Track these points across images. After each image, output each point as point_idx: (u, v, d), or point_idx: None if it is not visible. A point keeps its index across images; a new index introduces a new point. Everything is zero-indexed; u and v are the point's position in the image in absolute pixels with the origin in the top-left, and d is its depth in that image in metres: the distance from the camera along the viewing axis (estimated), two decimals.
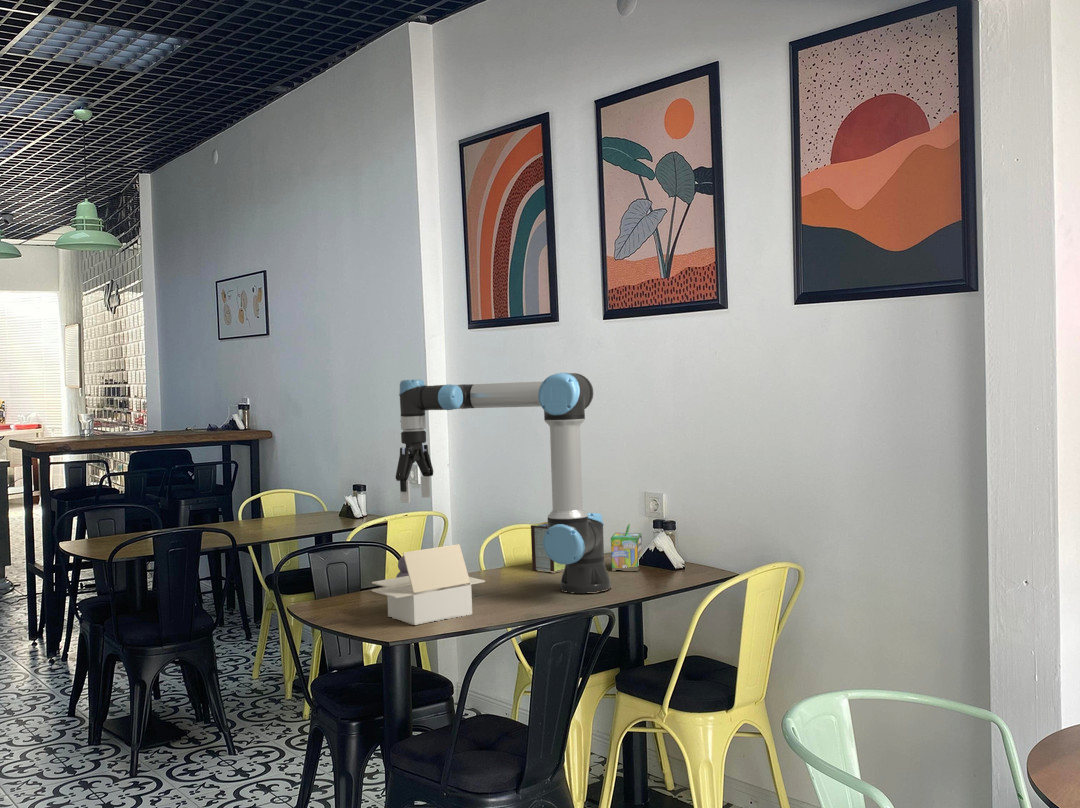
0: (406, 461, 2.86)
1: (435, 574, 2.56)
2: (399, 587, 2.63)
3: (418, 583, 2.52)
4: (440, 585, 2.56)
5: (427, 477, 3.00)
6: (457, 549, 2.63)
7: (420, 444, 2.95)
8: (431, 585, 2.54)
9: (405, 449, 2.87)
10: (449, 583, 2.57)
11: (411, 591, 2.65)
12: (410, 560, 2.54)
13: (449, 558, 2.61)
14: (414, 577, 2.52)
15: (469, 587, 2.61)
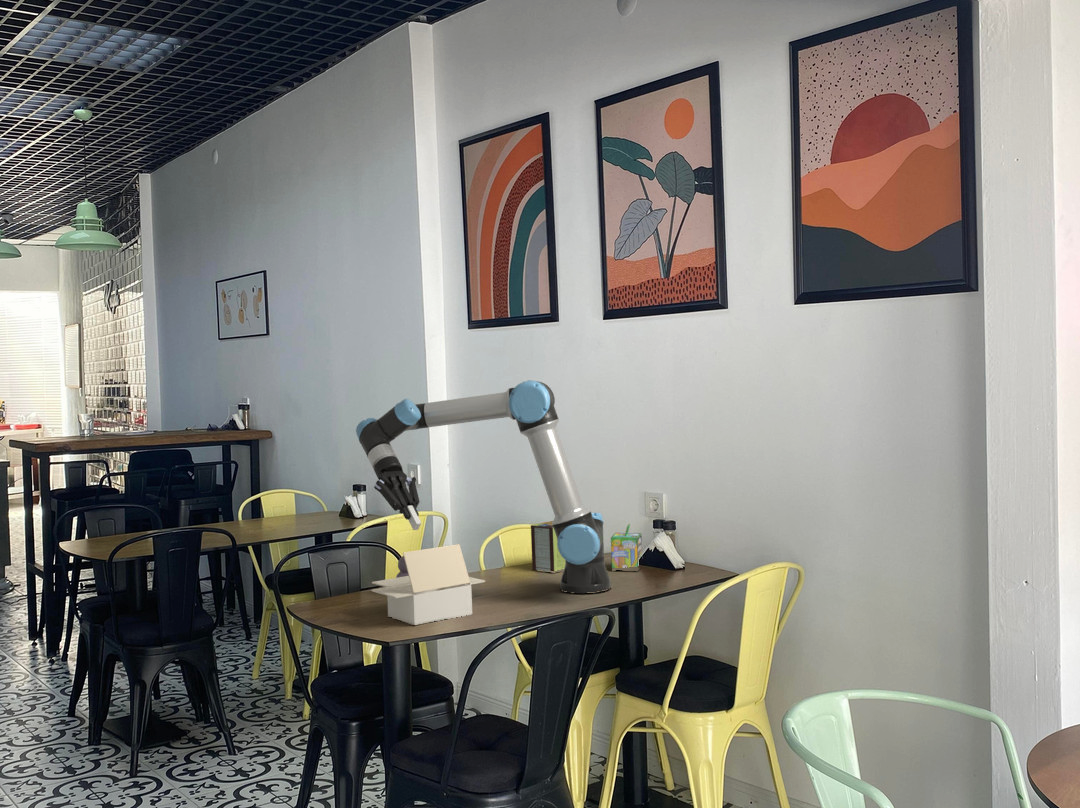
0: (387, 490, 2.68)
1: (435, 574, 2.56)
2: (399, 587, 2.63)
3: (418, 583, 2.52)
4: (440, 585, 2.56)
5: None
6: (457, 549, 2.63)
7: (402, 471, 2.77)
8: (431, 585, 2.54)
9: (377, 484, 2.69)
10: (449, 583, 2.57)
11: (411, 591, 2.65)
12: (410, 560, 2.54)
13: (449, 558, 2.61)
14: (414, 577, 2.52)
15: (469, 587, 2.61)
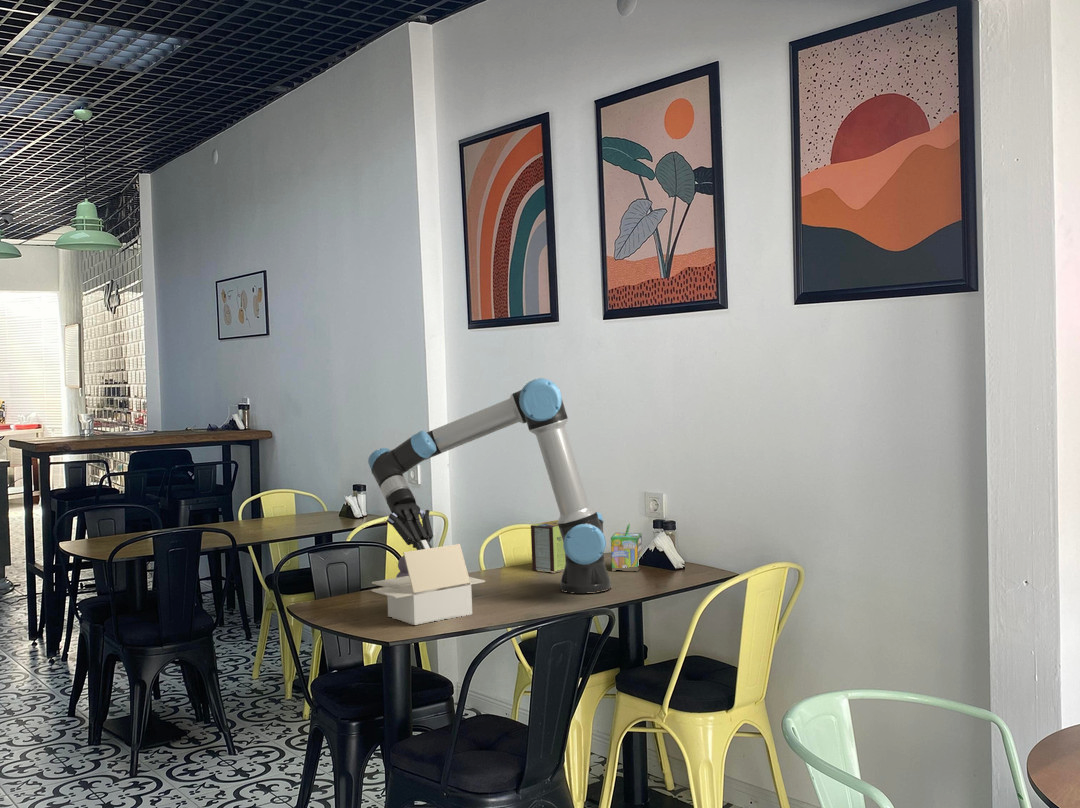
0: (400, 524, 2.62)
1: (435, 574, 2.56)
2: (399, 587, 2.63)
3: (418, 583, 2.52)
4: (440, 585, 2.56)
5: None
6: (457, 549, 2.63)
7: (415, 503, 2.71)
8: (431, 585, 2.54)
9: (390, 517, 2.63)
10: (449, 583, 2.57)
11: (411, 591, 2.65)
12: (410, 559, 2.54)
13: (449, 558, 2.61)
14: (414, 576, 2.52)
15: (469, 587, 2.61)
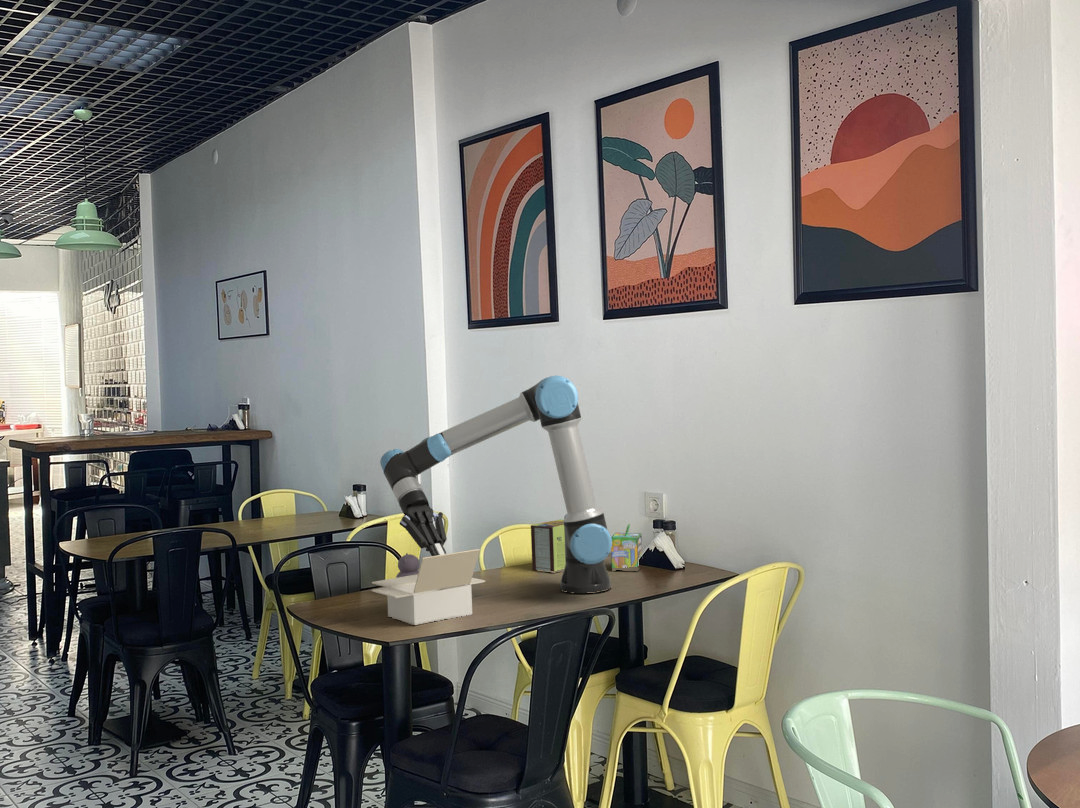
0: (413, 527, 2.57)
1: (442, 577, 2.53)
2: (399, 587, 2.63)
3: (422, 585, 2.51)
4: (441, 586, 2.55)
5: None
6: (475, 554, 2.57)
7: (428, 505, 2.65)
8: (433, 586, 2.53)
9: (402, 520, 2.58)
10: (451, 584, 2.57)
11: (411, 591, 2.65)
12: (425, 565, 2.48)
13: (463, 562, 2.56)
14: (421, 580, 2.49)
15: (469, 587, 2.61)
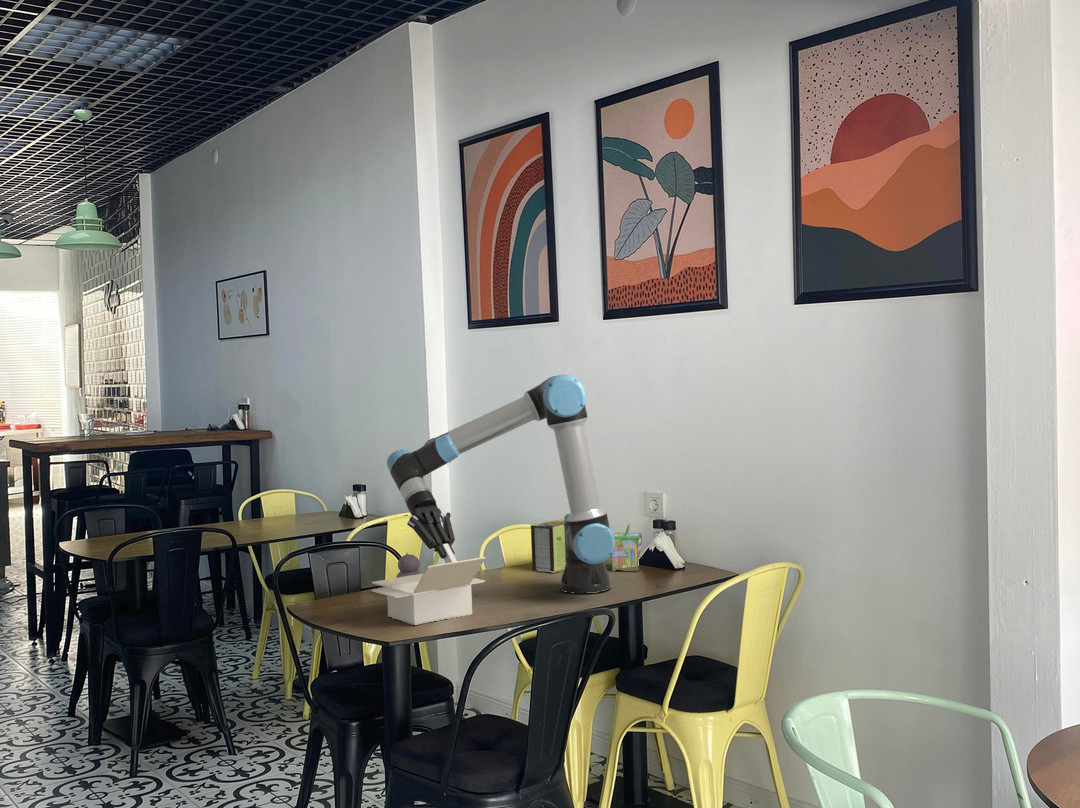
0: (421, 527, 2.54)
1: (444, 580, 2.53)
2: (399, 587, 2.63)
3: (423, 587, 2.50)
4: (441, 587, 2.55)
5: None
6: (480, 561, 2.55)
7: (436, 505, 2.63)
8: (434, 587, 2.53)
9: (410, 520, 2.55)
10: (451, 585, 2.57)
11: (411, 591, 2.65)
12: (430, 572, 2.46)
13: (467, 568, 2.54)
14: (423, 583, 2.49)
15: (469, 587, 2.61)
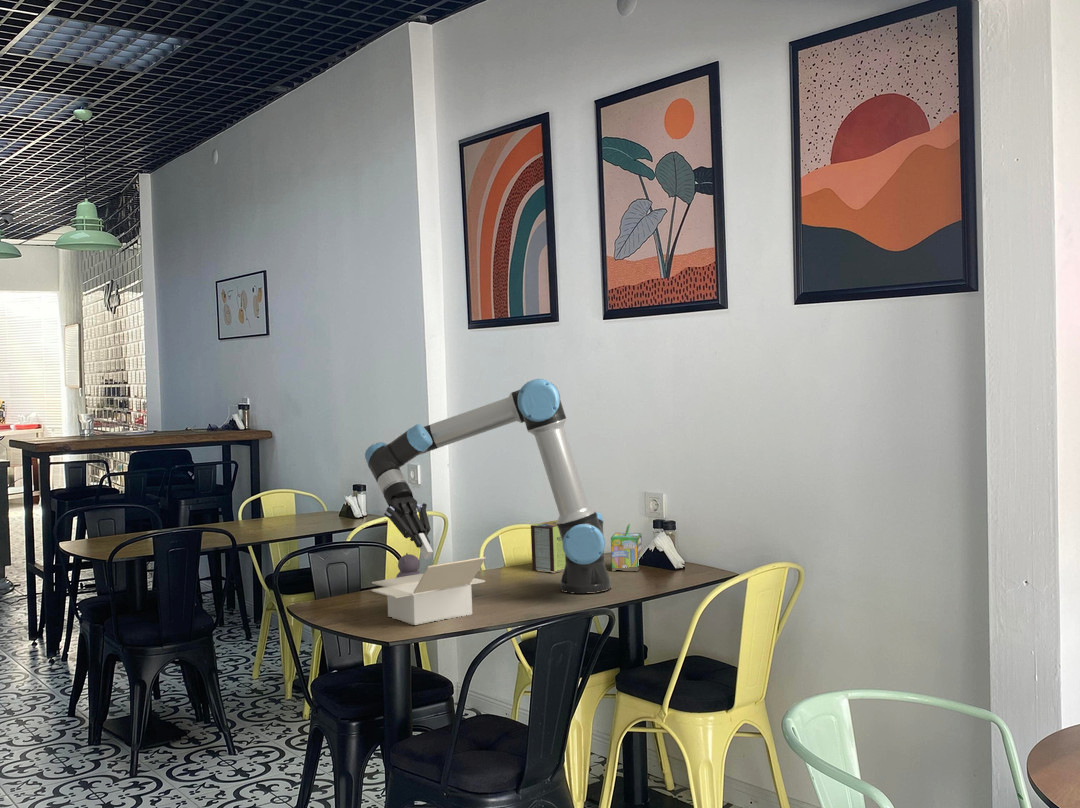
0: (398, 518, 2.63)
1: (444, 580, 2.53)
2: (399, 587, 2.63)
3: (423, 587, 2.50)
4: (441, 587, 2.55)
5: None
6: (480, 562, 2.55)
7: (412, 497, 2.72)
8: (434, 587, 2.53)
9: (387, 511, 2.64)
10: (451, 585, 2.57)
11: (411, 591, 2.65)
12: (430, 572, 2.46)
13: (467, 568, 2.54)
14: (423, 583, 2.49)
15: (469, 587, 2.61)
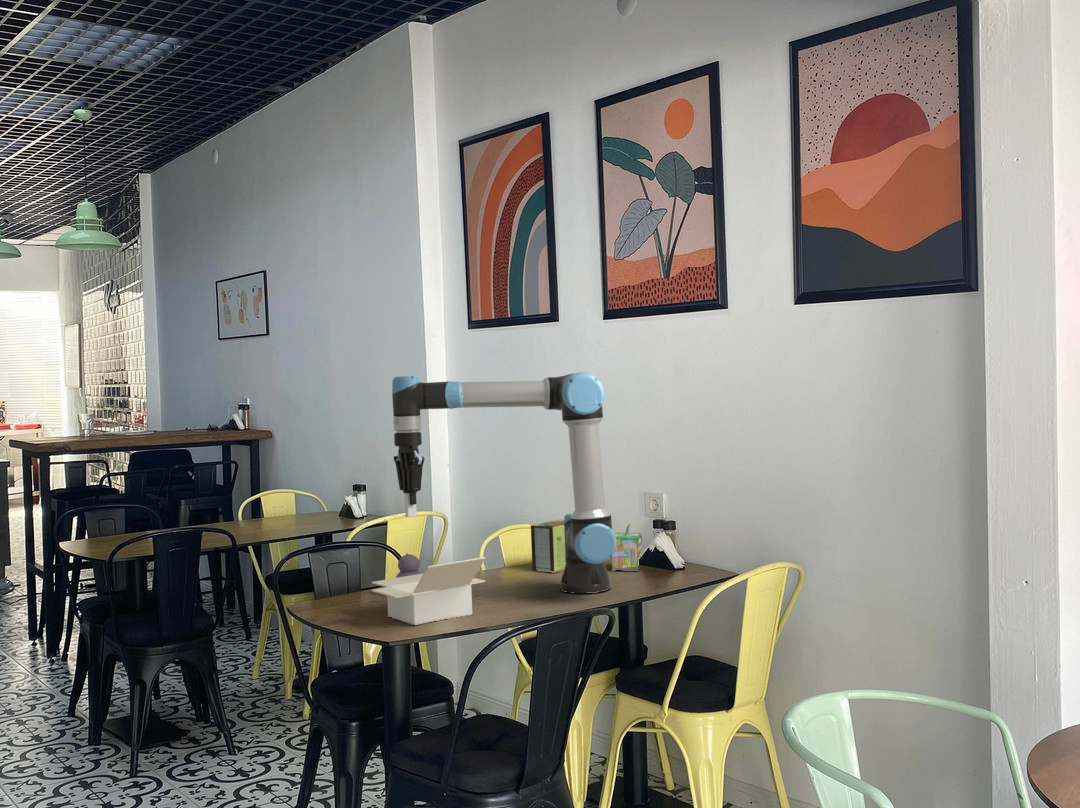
0: None
1: (444, 580, 2.53)
2: (399, 587, 2.63)
3: (423, 587, 2.50)
4: (441, 587, 2.55)
5: None
6: (480, 562, 2.55)
7: None
8: (434, 587, 2.53)
9: (422, 460, 2.64)
10: (451, 585, 2.57)
11: (411, 591, 2.65)
12: (430, 572, 2.46)
13: (467, 568, 2.54)
14: (423, 583, 2.49)
15: (469, 587, 2.61)
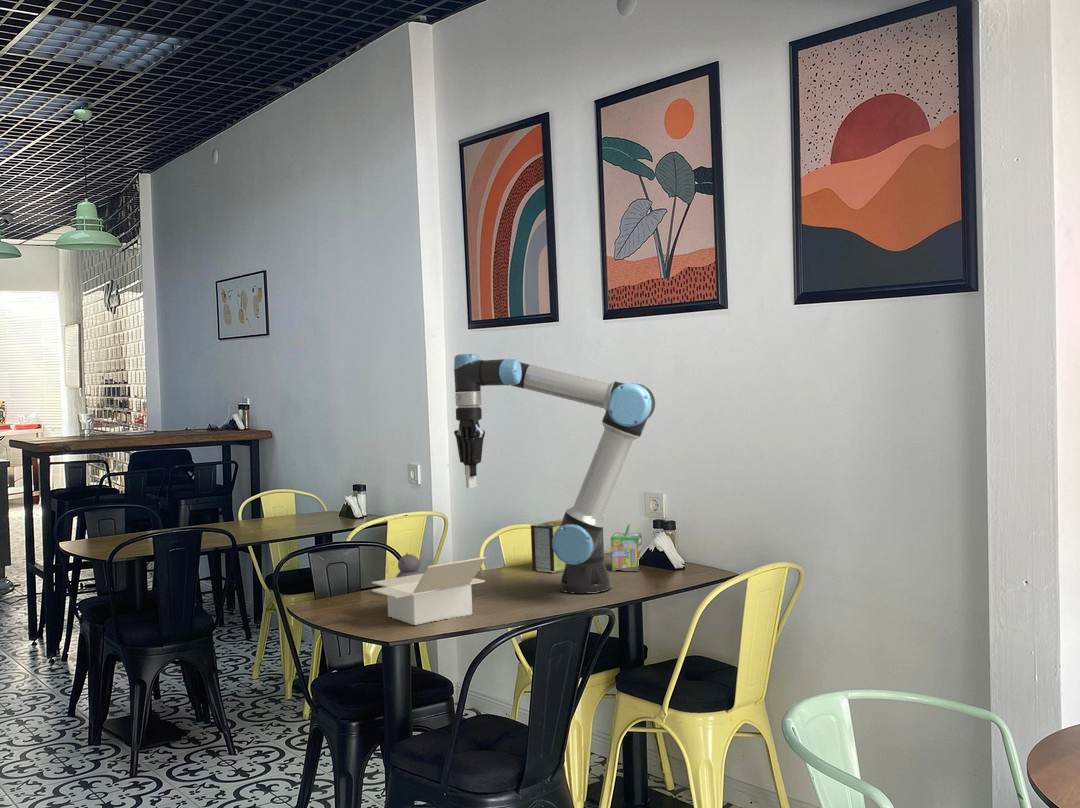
0: None
1: (444, 580, 2.53)
2: (399, 587, 2.63)
3: (423, 587, 2.50)
4: (441, 587, 2.55)
5: None
6: (480, 562, 2.55)
7: None
8: (434, 587, 2.53)
9: (483, 433, 2.78)
10: (451, 585, 2.57)
11: (411, 591, 2.65)
12: (430, 572, 2.46)
13: (467, 568, 2.54)
14: (423, 583, 2.49)
15: (469, 587, 2.61)
